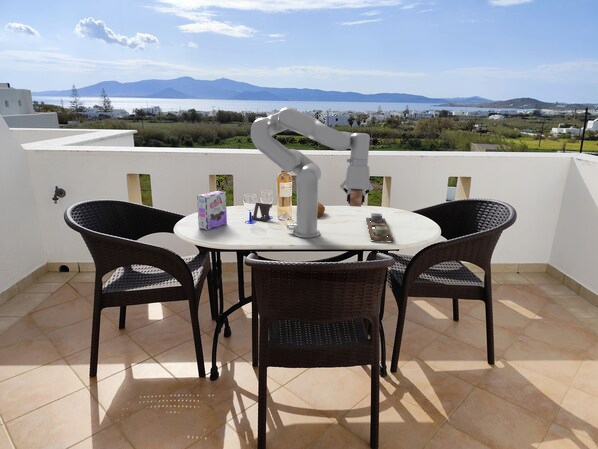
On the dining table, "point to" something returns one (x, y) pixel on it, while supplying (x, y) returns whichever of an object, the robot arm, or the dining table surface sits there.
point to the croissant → (320, 210)
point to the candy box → (212, 210)
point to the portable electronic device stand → (262, 211)
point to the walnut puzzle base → (378, 228)
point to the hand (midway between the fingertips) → (355, 203)
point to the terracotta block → (356, 197)
